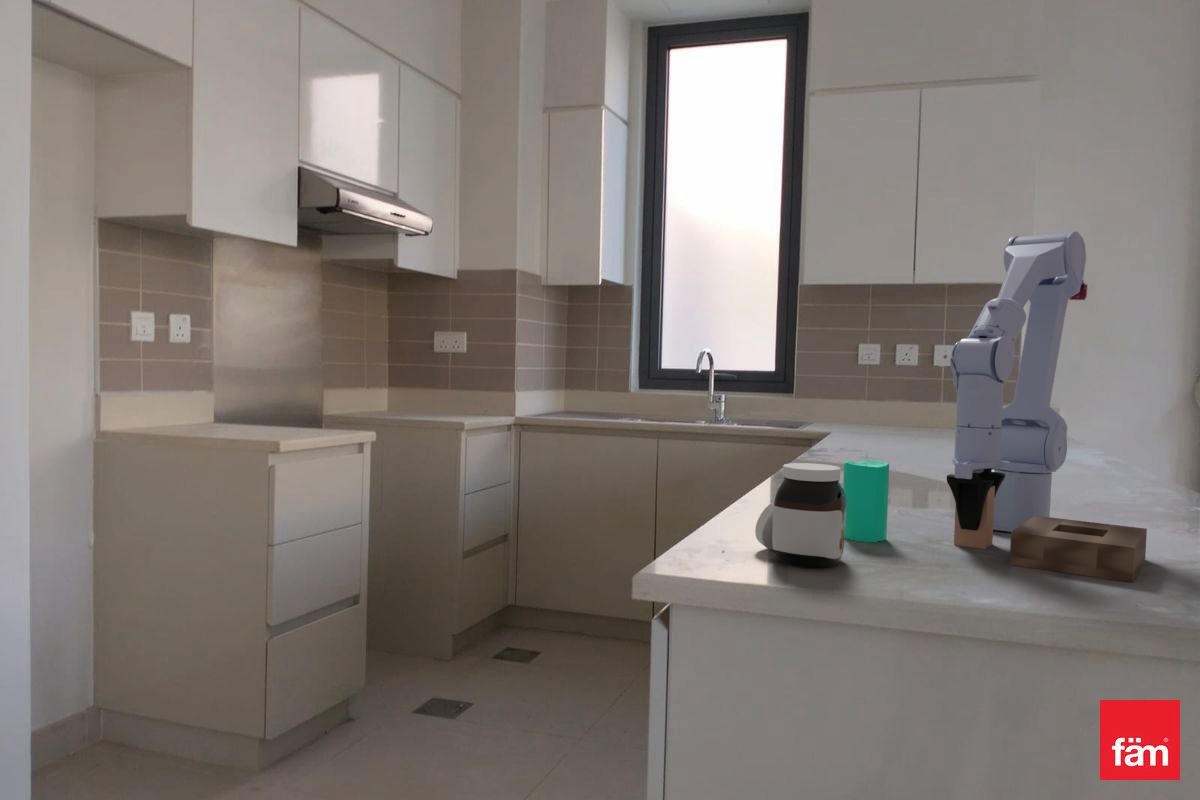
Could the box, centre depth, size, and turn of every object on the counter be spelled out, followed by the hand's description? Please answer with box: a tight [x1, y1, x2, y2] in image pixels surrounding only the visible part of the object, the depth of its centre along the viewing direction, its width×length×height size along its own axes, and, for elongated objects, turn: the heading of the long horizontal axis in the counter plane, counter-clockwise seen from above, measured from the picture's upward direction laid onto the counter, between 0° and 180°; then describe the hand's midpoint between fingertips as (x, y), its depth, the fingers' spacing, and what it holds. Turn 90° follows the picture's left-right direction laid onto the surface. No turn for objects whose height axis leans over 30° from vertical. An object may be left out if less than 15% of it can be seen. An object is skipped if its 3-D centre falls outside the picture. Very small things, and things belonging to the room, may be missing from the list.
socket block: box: [1009, 516, 1148, 583], centre depth 110 cm, size 13×15×4 cm
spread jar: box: [754, 462, 846, 569], centre depth 109 cm, size 12×11×12 cm
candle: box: [842, 451, 890, 543], centre depth 122 cm, size 6×6×12 cm
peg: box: [953, 486, 995, 550], centre depth 119 cm, size 4×4×8 cm
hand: (973, 526), depth 119 cm, fingers open, 4 cm apart
